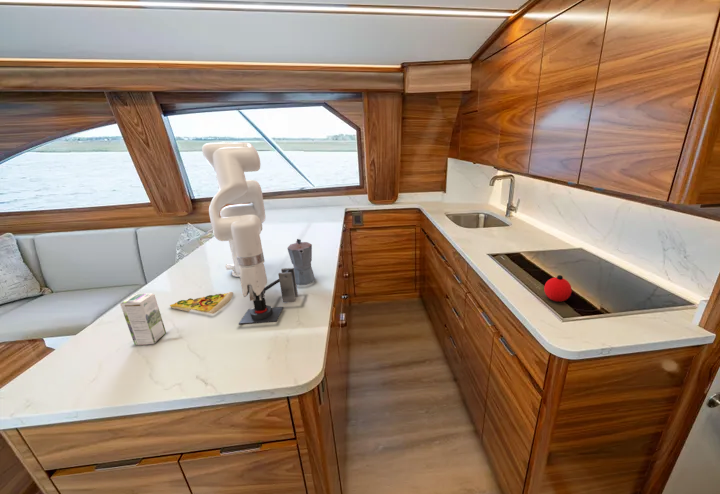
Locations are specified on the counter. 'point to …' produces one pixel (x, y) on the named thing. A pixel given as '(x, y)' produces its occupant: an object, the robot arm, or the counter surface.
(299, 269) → the moka pot
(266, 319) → the control block
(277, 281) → the lever
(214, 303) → the pizza slice
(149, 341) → the syrup box
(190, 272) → the counter surface
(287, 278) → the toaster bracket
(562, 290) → the ornament
